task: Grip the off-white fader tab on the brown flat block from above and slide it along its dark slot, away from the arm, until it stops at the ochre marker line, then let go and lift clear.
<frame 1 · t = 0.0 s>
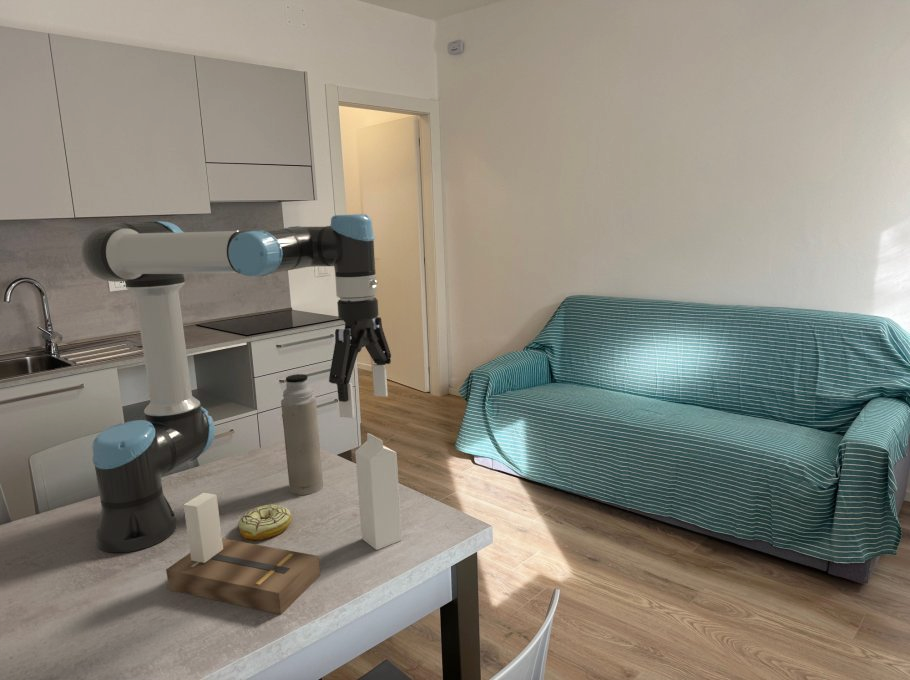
hand: (365, 406, 125), 28 cm above the table, tool pointing down, fingers open, 13 cm apart
milk: (381, 540, 130), on the table
thermos bottle: (306, 488, 156), on the table
decorated donut: (265, 530, 136), on the table
brown flat block: (245, 582, 117), on the table
fader tab: (203, 527, 118), point 10 cm above the table, slide at 0.0 cm
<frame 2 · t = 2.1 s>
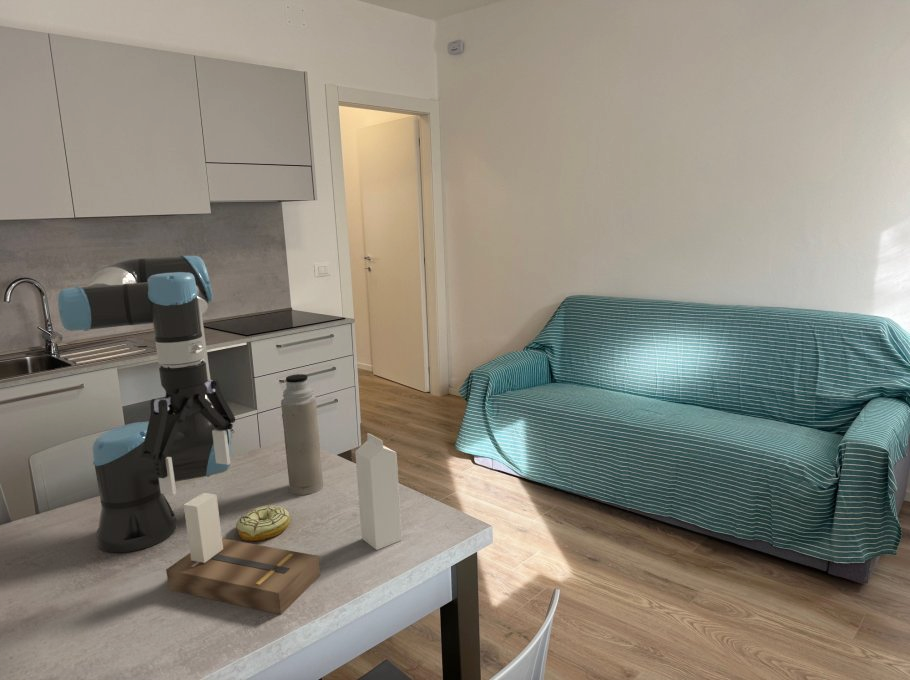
hand: (197, 477, 115), 20 cm above the table, tool pointing down, fingers open, 13 cm apart
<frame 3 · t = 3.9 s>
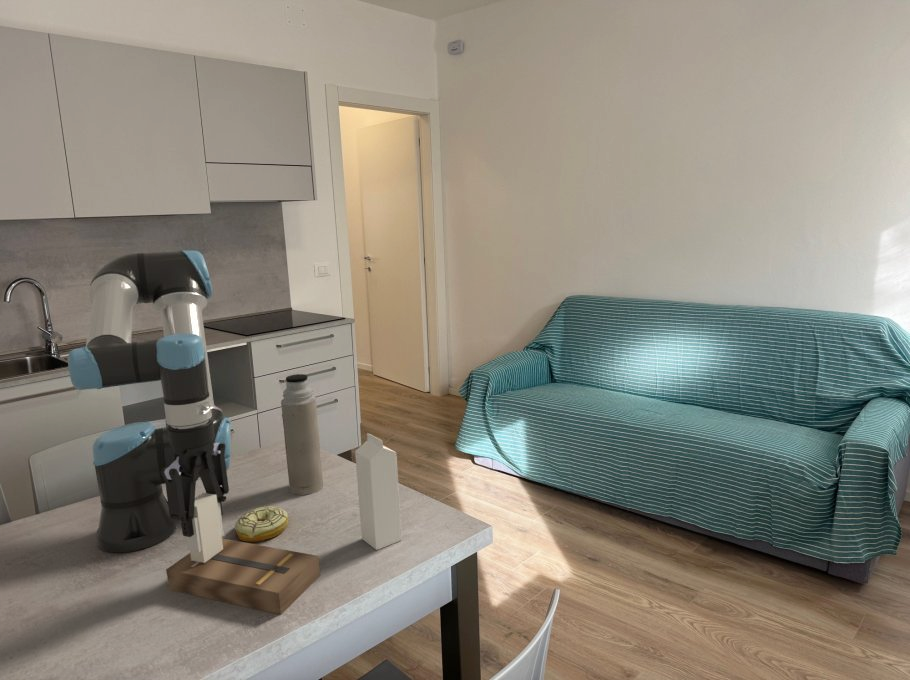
hand: (205, 542, 118), 7 cm above the table, tool pointing down, fingers closed on fader tab, 5 cm apart
fader tab: (203, 527, 118), point 10 cm above the table, slide at 0.0 cm, touching gripper
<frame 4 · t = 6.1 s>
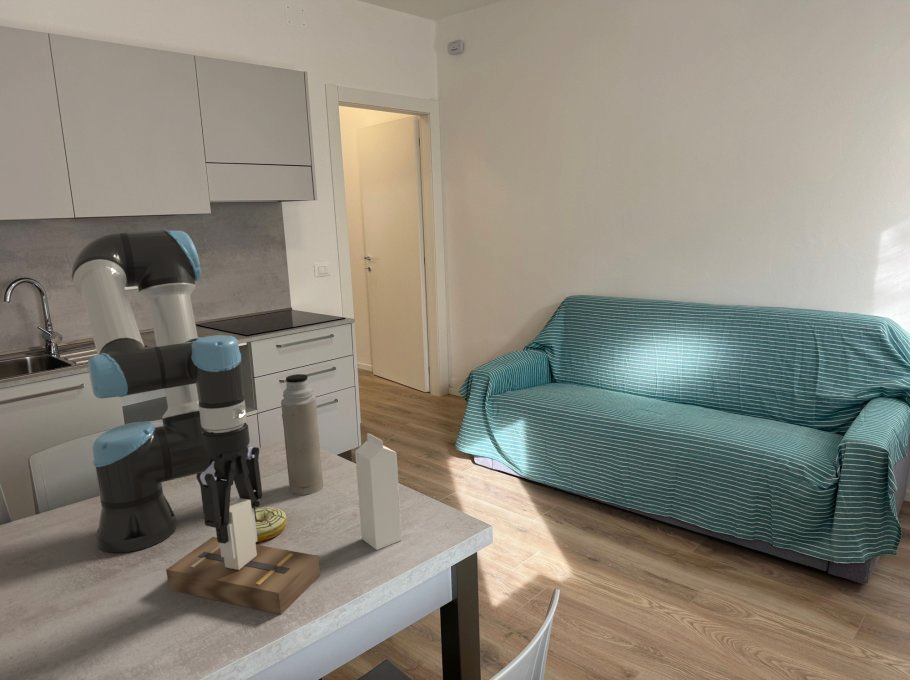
hand: (239, 548, 116), 7 cm above the table, tool pointing down, fingers closed on fader tab, 5 cm apart
fader tab: (237, 533, 115), point 10 cm above the table, slide at 7.7 cm, touching gripper
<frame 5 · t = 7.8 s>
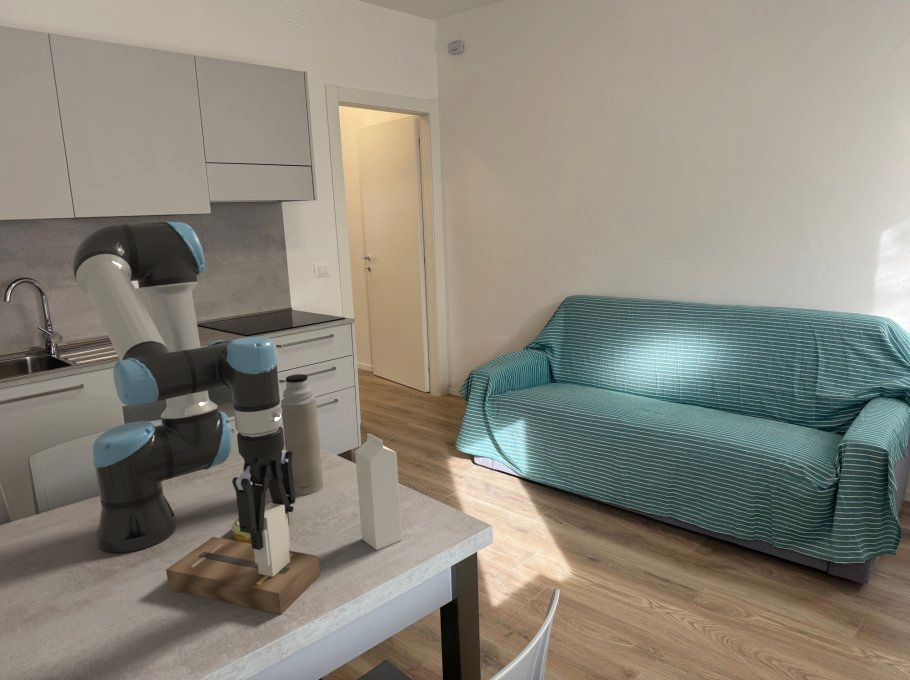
hand: (273, 554, 113), 7 cm above the table, tool pointing down, fingers closed on fader tab, 5 cm apart
fader tab: (271, 539, 112), point 10 cm above the table, slide at 14.9 cm, touching gripper
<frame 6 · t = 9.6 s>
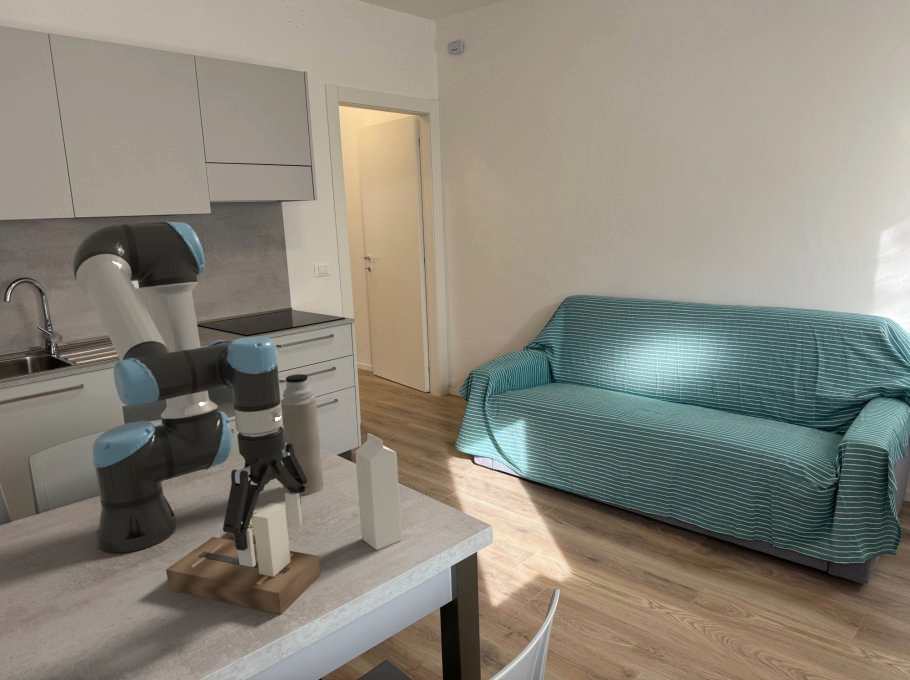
hand: (272, 544, 113), 9 cm above the table, tool pointing down, fingers open, 13 cm apart
fader tab: (272, 539, 112), point 10 cm above the table, slide at 15.0 cm
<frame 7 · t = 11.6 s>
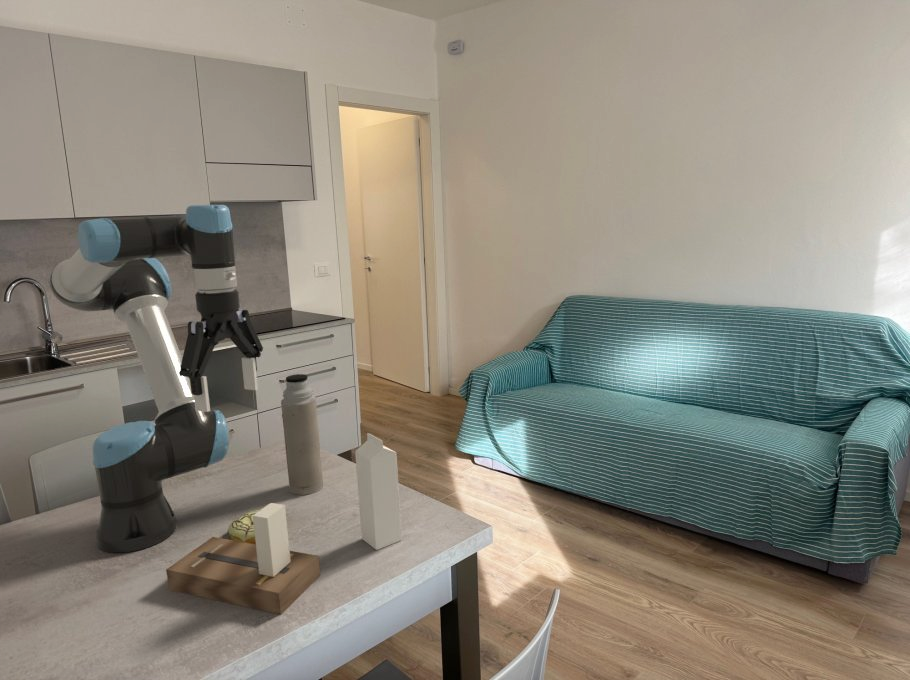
hand: (228, 399, 124), 31 cm above the table, tool pointing down, fingers open, 13 cm apart
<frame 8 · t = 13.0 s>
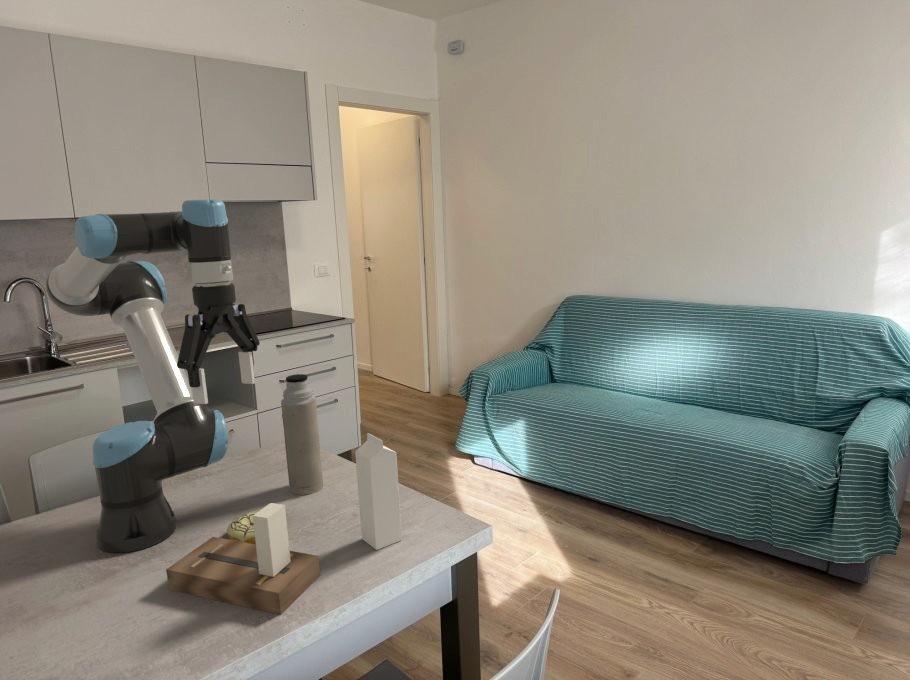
hand: (225, 392, 125), 32 cm above the table, tool pointing down, fingers open, 13 cm apart
at the end: fader tab slide at 15.0 cm; decorated donut moved 3.0 cm from its start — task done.
